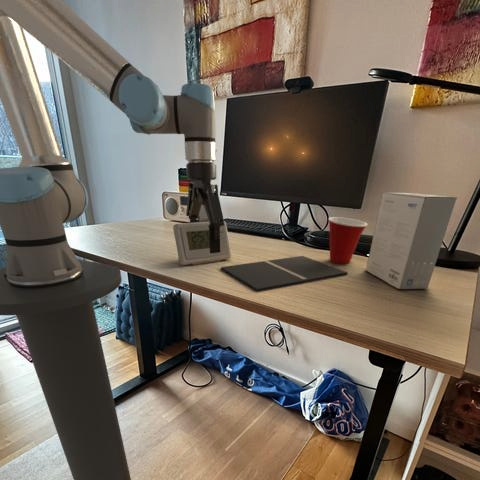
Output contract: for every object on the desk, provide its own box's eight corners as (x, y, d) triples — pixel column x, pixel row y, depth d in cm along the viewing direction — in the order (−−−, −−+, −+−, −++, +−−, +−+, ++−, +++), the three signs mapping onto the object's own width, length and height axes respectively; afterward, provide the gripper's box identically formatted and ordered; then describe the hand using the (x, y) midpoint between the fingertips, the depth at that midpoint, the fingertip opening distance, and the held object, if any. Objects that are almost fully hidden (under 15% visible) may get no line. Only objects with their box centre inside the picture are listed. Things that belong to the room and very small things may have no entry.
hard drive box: (428, 289, 69) (459, 197, 60) (398, 290, 68) (425, 196, 59) (389, 269, 83) (409, 191, 74) (364, 270, 82) (381, 191, 73)
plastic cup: (356, 268, 83) (365, 224, 78) (317, 262, 88) (323, 220, 82) (362, 259, 92) (371, 219, 86) (327, 254, 96) (333, 215, 91)
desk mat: (256, 291, 66) (257, 288, 66) (220, 269, 80) (220, 266, 79) (347, 274, 78) (347, 271, 78) (302, 257, 92) (302, 255, 92)
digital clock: (178, 267, 80) (175, 226, 75) (173, 258, 88) (170, 220, 83) (235, 262, 85) (236, 224, 81) (225, 254, 93) (225, 219, 88)
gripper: (238, 162, 67) (237, 255, 76) (196, 163, 86) (200, 237, 96) (207, 161, 64) (211, 259, 73) (171, 162, 83) (177, 240, 92)
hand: (204, 247), depth 84 cm, fingers open, 13 cm apart
